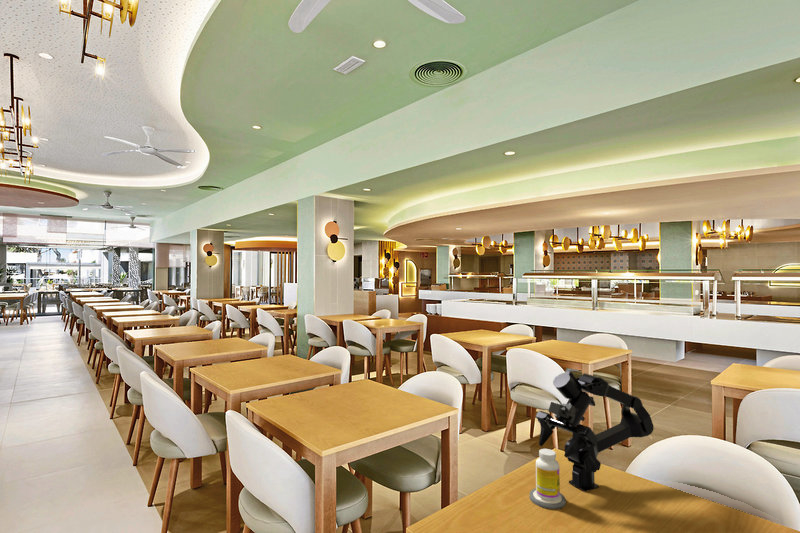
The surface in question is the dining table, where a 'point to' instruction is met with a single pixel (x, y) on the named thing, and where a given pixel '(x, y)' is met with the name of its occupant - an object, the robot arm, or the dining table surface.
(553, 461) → the supplement bottle
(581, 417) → the robot arm
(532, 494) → the push button
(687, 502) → the dining table surface
